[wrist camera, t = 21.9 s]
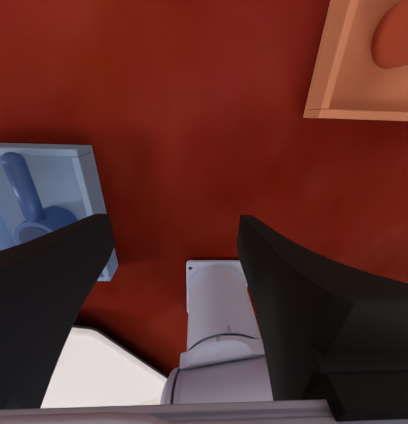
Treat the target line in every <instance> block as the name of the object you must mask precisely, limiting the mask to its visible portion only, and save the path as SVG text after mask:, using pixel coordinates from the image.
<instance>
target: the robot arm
mask: <svg viewBox="0 0 408 424" xmlns="http://www.w3.org/2000/svg"><path fill="white" fill-rule="evenodd" d="M114 247H115V241H114V237H113V232H112V228H111V223H110V218H109V214H98V213H97V214H93V215H90V216H88V217H85V218H83V219H81V220H78V221H76V222H74V223H71V224H69V225H67V226H64V227H62V228H60V229H58V230H55V231H53V232H50V233H48V234H45V235H43V236H40V237H38V238H35V239H33V240H30V241H27V242H25V243H22V244H19V245H16V246H13V247H10V248H7V249H4V250H1V251H0V424H408V284H407V283H404V282H400V281H396V280H393V279H389V278H385V277H382V276H378V275H374V274H371V273H368V272H365V271H362V270H359V269H356V268H353V267H350V266H347V265H344V264H341V263H339V262H336V261H334V260H331V259H329V258H326V257H324V256H321V255H319V254H317V253H314V252H312V251H310V250H308V249H306V248H304V247H302V246H300V245H298V244H296V243H294V242H293V241H291V240H289V239H288V238H286V237H284V236H283V235H281V234H279V233H278V232H276V231H275V230H273V229H272V228H270V227H269V226H267V225H266V224H264V223H263V222H261V221H260V220H258V219H257V218H255V217H254V216H252V215H240V223H239V231H238V238H237V250H238V256H239V260H189V261H187V263H186V281H187V312H188V337H187V352H183V353H181V355H180V367H179V368H174V369H173V370H172V371H171V373H170V374H169V377H168V379H167V381H166V383H165V385H164V387H163V391H162V395H161V399H160V405H131V406H100V407H69V408H41V405H42V402H43V399H44V397H45V394H46V391H47V388H48V386H49V383H50V380H51V377H52V375H53V372H54V370H55V367H56V365H57V362H58V360H59V357H60V355H61V352H62V350H63V347H64V345H65V343H66V340H67V338H68V336H69V333H70V331H71V329H72V327H73V324H74V322H75V320H76V318H77V316H78V314H79V312H80V309H81V307H82V305H83V303H84V302H85V300H86V298H87V296H88V295H89V293H90V291H91V290H92V288H93V286H94V285H95V283H96V281H97V280H98V278H99V276H100V275H101V273H102V271H103V270H104V268H105V266H106V265H107V263H108V261H109V259H110V257H111V254H112V252H113V249H114ZM189 267H192V268H189ZM247 285H248V287H249V290H250V293H251V296H252V299H253V302H254V306H255V310H256V315H257V319H258V323H259V328H260V332H259V329H258V325H257V322H256V318H255V315H254V312H253V308H252V305H251V301H250V298H249V294H248V291H247ZM260 333H261V336H260ZM261 337H262V338H261Z"/></svg>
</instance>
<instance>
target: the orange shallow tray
mask: <svg viewBox="0 0 408 424" xmlns="http://www.w3.org/2000/svg"><path fill="white" fill-rule="evenodd" d="M400 1H401V0H330V4H329V8H328V12H327V17H326V21H325V25H324V29H323V34H322V38H321V42H320V46H319V51H318V55H317V59H316V63H315V68H314V72H313V76H312V81H311V85H310V89H309V93H308V98H307V102H306V106H305V110H304V115H303V118H327V119H356V120H385V121H408V65H405V66H401V67H397V68H392V69H384V68H381V67H380V66H378V65H377V64H376V63H375V62H374V60H373V57H372V53H371V43H372V38H373V34H374V32H375V29H376V27H377V25H378V23H379V22H380V20H381V19H382V17H383V16H384V15H385V13H386V12H387V11H388V10H389V9H390V8H391V7H392V6H394V5H395V4H397V3H398V2H400Z"/></svg>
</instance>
